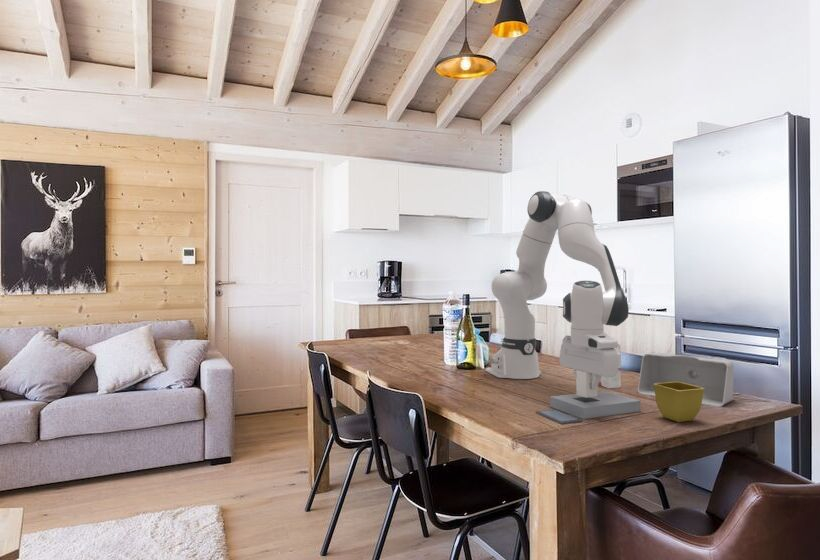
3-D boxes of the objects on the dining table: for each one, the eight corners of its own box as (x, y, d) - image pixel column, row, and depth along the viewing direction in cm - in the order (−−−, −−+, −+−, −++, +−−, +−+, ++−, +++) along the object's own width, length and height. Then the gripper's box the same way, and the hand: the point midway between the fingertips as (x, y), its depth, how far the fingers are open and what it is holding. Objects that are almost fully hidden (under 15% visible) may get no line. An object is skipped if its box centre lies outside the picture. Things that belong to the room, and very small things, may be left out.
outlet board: (550, 406, 156) (550, 396, 156) (604, 400, 164) (604, 390, 164) (583, 419, 143) (583, 407, 143) (640, 411, 151) (640, 400, 151)
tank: (739, 398, 167) (740, 358, 167) (723, 407, 156) (723, 364, 156) (657, 386, 185) (657, 349, 185) (636, 393, 174) (637, 354, 174)
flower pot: (704, 422, 140) (705, 387, 140) (678, 425, 138) (679, 390, 137) (677, 413, 149) (678, 381, 149) (652, 416, 146) (652, 383, 146)
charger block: (576, 394, 154) (576, 368, 153) (587, 393, 155) (587, 367, 155) (586, 397, 150) (586, 370, 150) (597, 396, 151) (597, 369, 151)
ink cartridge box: (593, 383, 189) (593, 341, 188) (606, 382, 190) (606, 341, 190) (608, 388, 180) (608, 344, 180) (621, 388, 182) (621, 344, 181)
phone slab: (535, 415, 150) (535, 411, 150) (555, 412, 152) (555, 408, 152) (561, 426, 139) (561, 422, 138) (582, 424, 141) (582, 420, 141)
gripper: (554, 335, 161) (554, 381, 161) (604, 343, 142) (603, 396, 142) (571, 334, 163) (571, 379, 163) (622, 342, 144) (622, 393, 144)
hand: (587, 387), depth 152 cm, fingers closed on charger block, 4 cm apart
